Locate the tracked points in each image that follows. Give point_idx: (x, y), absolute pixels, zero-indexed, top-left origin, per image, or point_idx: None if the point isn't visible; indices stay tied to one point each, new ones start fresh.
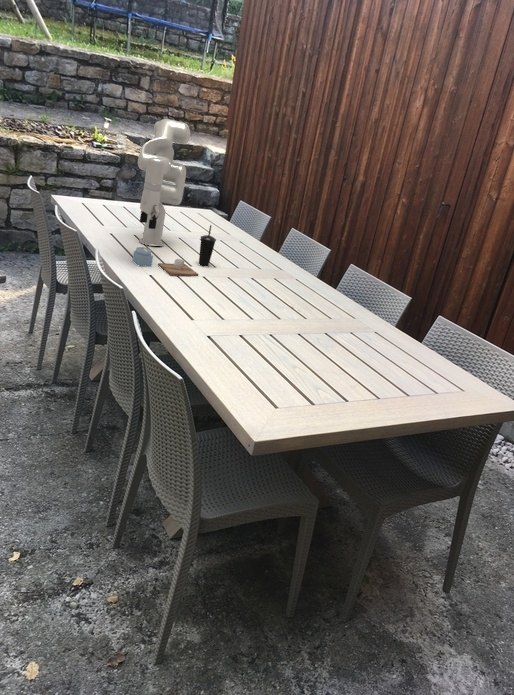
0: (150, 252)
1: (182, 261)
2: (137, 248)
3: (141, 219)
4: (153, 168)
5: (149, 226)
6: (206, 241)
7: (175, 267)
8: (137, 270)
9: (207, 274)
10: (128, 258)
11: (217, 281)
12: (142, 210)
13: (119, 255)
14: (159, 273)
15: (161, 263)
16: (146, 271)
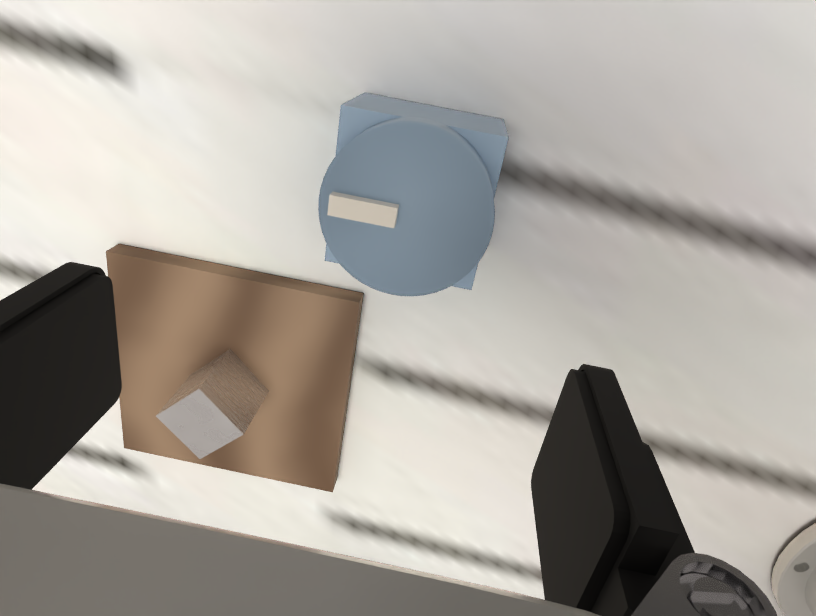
0: (334, 249)
1: (171, 430)
2: (449, 152)
3: (579, 417)
4: None
5: (47, 285)
6: None
7: (214, 361)
8: (242, 4)
9: (184, 516)
10: (590, 126)
11: (62, 492)
12: (325, 556)
13: (702, 76)
14: (175, 187)
15: (350, 326)
16: (218, 89)
